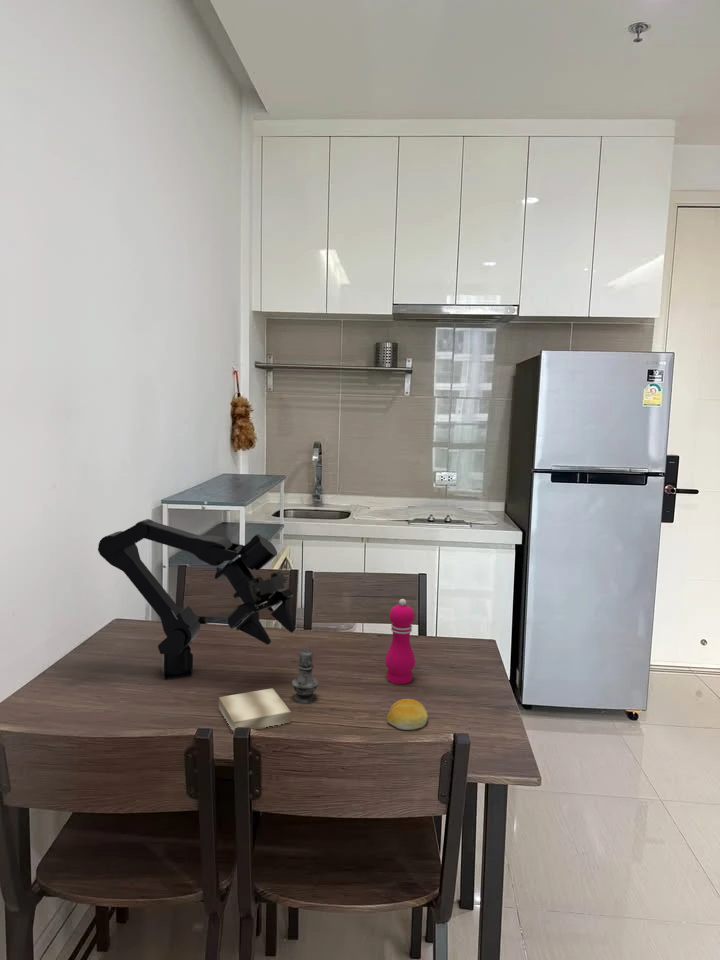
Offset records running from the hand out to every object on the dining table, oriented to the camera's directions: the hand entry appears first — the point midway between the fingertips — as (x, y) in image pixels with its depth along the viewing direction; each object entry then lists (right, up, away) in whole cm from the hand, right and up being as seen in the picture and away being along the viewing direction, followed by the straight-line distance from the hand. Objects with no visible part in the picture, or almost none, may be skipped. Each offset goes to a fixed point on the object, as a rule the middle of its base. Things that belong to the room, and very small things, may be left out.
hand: (281, 637), depth 147 cm
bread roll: (+28, -15, -11) cm, 34 cm away
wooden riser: (-4, -14, -11) cm, 18 cm away
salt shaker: (+5, -13, -2) cm, 14 cm away
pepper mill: (+28, -13, +10) cm, 32 cm away
